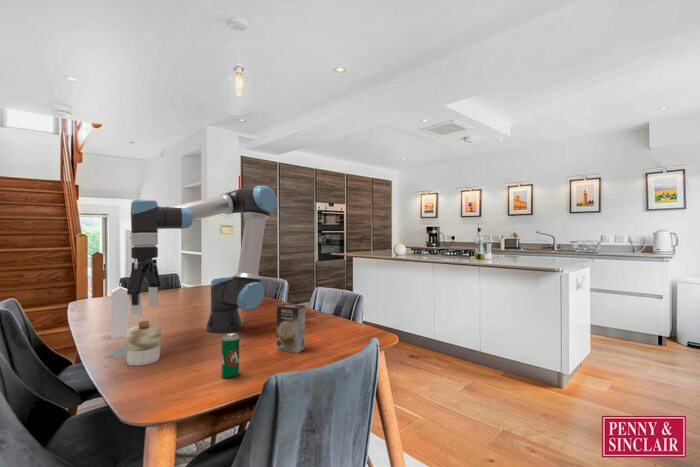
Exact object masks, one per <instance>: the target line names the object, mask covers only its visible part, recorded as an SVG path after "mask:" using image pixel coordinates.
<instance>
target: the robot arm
mask: <svg viewBox="0 0 700 467" xmlns="http://www.w3.org/2000/svg"><path fill="white" fill-rule="evenodd" d="M277 204H278V199H277V196H276V193H275V192H274V190H273V189H272V188H271V187H269V186H267V185H257V186H249V187H242V188H238V189H236V190H232V191H229V192H224V193H221V194H220V195H219V196H215V197H209V198H205V199H200V200H199V199H198V200H194V201H190V202H184V203H179V204H174V205H168V206H159V205H158V202H157V200H155V199H146V198H145V199H143V198H141V199H140V198H139V199H134V200H131V204H130V222H131V223H130V225H131V226H130V227H131V228H130V229H131V231H130V232H131V234H130V237H129V239H130V240H131V246H132V247H131V249H130V251H131V252H130V254H131V256H130V257H131V259H132V260H133V259H136V262H135V261H134V262H132V263H131V270H130V276H129V282H128V286H127V289H128V290H127V295H129V296H130V316H141V315H143V314H142V313H143V311H142V310H143V309H142V308H143V307H142V306H143V304H142V302H143V300H142V293H141V291H142V288H143V284H144V281H145V278H146V281H147V282H148V285H149V287H148V307H156V306H157V307H158V306H159V294H158V293H159V292H158V290H159V288H158V287H161V279H160V274H159V269H158V263H157V259H156V258H158V256H159V251H158V250H159V247H158V244H159V240H158V239H159V238H158V237H159V234H158V230H159V229H160V230H161V229H162V230H164V229H165V230H167V229H170V230H171V229H174V230H175V229H178V230H182V229H190V227H192V225H193V222H194V221H197V220H200V219H201V220H202V219H204V218H209V217H213V216H217V215H222V214H225V215H230V214H231V215H232V214H242V215H243V216H244V218H245V219H244V225H243V226H244V227H243V234H242V240H241V248H240V253H239V254H240V255H239V261H238V266H237V267H238V268H237V272H236V273H235V274H234V275H233V276H228V277H220V278H213V279H212V280H211V282H210V313H209V316H208V319H207V323H206V327H205V328H206V329H205V330H206V331H207V332H209V333H215V334H216V333H219V334H220V333H221V334H222V333H229V332H231V333H232V332H235V331H238V330H240V329H242V328H243V322H242V321H243V320H242V318H241V315H240V312H239V309H241V310H247V311H248V310H254V309H256V308H258V307H259V305H261V303H262V302H263V300H264V298H265V294H266V293H265V288H264V285H262V283H261V281H262V279H261V276H259V268H260V262H261V256H262V249H263V248H262V247H263V242H264V241H263V240H264V233H265V226H266V222H267V220H269V219H270V216H271V212H273V211H274V210H275V209H276V207H277Z"/></svg>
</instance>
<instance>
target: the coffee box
mask: <svg viewBox="0 0 700 467" xmlns="http://www.w3.org/2000/svg"><path fill="white" fill-rule="evenodd" d="M275 340H276V347H275V350H276V351H281V352H289V353H296V354H297V353H299V352H301V351H303V350H304V349H305V348H306V305H305V304H304V305H303V304H296V303H295V304H294V303H283V304H280V305H278V306H276V339H275Z"/></svg>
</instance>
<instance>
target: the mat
mask: <svg viewBox="0 0 700 467" xmlns="http://www.w3.org/2000/svg"><path fill="white" fill-rule="evenodd" d="M122 357H123V358H124V357H126V358H127V350H126V345H122V346H119V347H118V348H116V349H115V350H114V351H112V352H110V353H109V354H108V355H106V356H104V359H107V358H122Z"/></svg>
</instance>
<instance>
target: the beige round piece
mask: <svg viewBox="0 0 700 467" xmlns="http://www.w3.org/2000/svg"><path fill="white" fill-rule="evenodd" d="M161 345H162V325H160V324H156V323H150V321H149V320H142V321H139V322H138V325H134V326H129V328H128V329H126V337H125V346H126V350H127V351H144V350H149V349H153V348H156V347H158V346H160V347H161Z"/></svg>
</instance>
